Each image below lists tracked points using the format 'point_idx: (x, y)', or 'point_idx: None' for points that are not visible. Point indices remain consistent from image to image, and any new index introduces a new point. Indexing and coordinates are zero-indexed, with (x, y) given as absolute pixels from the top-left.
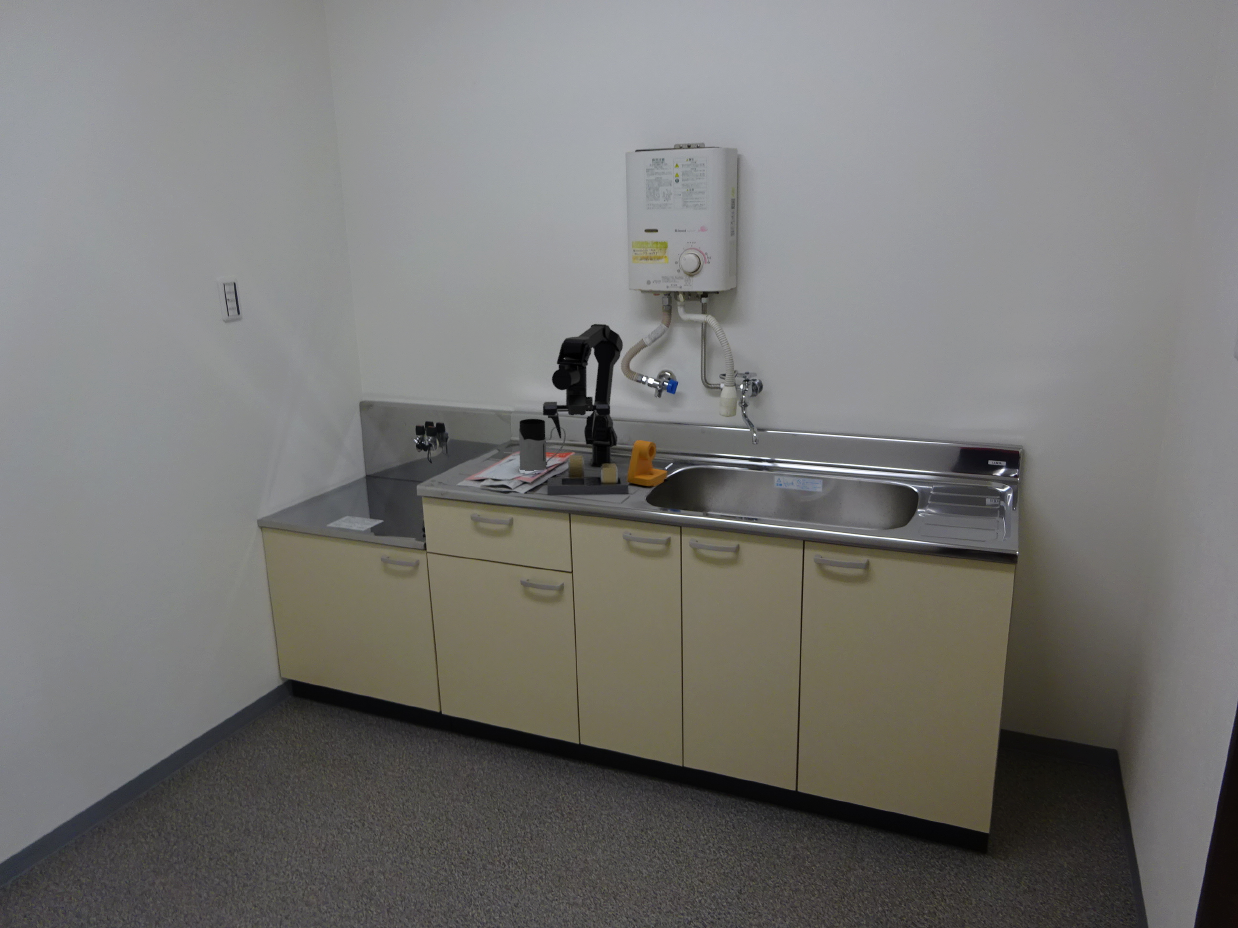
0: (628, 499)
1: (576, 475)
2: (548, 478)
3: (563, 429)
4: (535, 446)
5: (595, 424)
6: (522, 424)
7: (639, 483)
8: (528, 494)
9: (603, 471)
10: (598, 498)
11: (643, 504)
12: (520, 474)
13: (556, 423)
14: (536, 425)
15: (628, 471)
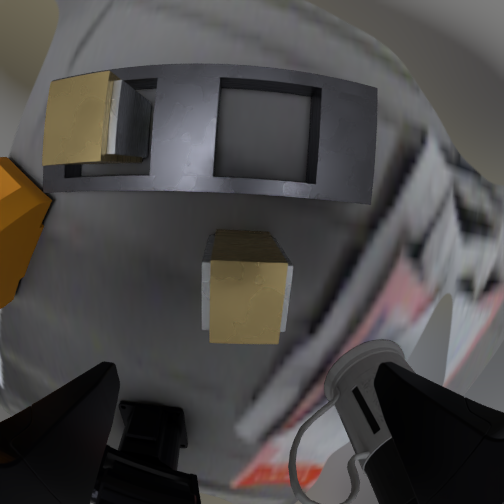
0: (82, 34)
1: (243, 238)
2: (369, 192)
3: (306, 500)
4: None
5: (25, 430)
6: None
7: (20, 172)
8: (417, 118)
9: (114, 75)
10: (175, 33)
11: (59, 4)
12: (407, 338)
13: (492, 419)
14: None
15: (26, 211)
